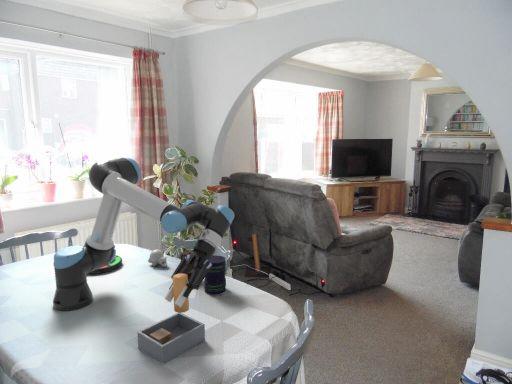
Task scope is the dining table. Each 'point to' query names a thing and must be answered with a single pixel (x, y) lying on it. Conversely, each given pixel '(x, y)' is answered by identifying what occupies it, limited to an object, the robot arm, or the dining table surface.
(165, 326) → the tote
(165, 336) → the walnut cube
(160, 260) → the toy rhinoceros
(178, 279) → the tan dome-topped cylinder
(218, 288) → the storage jar
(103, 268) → the electronic game
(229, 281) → the dining table surface
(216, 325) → the dining table surface
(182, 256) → the coffee cup
